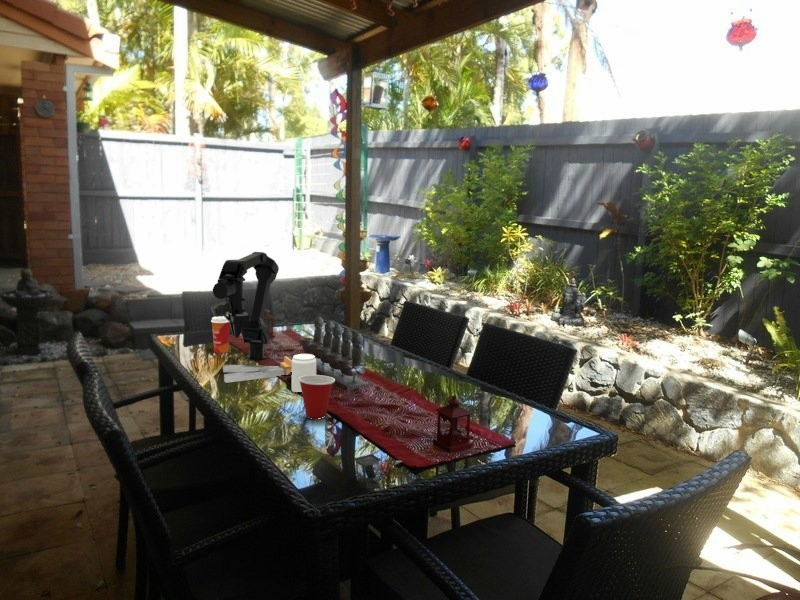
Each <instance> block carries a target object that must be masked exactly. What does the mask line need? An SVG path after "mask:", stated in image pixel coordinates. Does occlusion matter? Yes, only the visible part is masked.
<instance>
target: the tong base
mask: <svg viewBox="0 0 800 600" xmlns="http://www.w3.org/2000/svg"><path fill="white" fill-rule="evenodd" d="M281 375H286V369H285V368H284V367H283V366H281V368H280V367H279V368H276V369H267V370H258V371H249V372H240V373H233V372H230V373H224V374H223V381H224V383H225V384H228V383H237V382H246V381H251V380H252V381H253V380H262V379H269V378H277V377H276V376H279V377H282V376H281Z"/></svg>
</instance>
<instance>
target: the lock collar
mask: <svg viewBox="0 0 800 600" xmlns="http://www.w3.org/2000/svg"><path fill="white" fill-rule="evenodd" d="M281 366H283V367H284V368H285V369H286V375H288V374H289V373H290V372H292V359H291V358H289V357H288V356H283V361H280V362H279V368H281Z"/></svg>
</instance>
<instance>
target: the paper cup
mask: <svg viewBox="0 0 800 600" xmlns="http://www.w3.org/2000/svg"><path fill="white" fill-rule="evenodd" d="M224 316H225V315H222V316H221V315H220V316H218V317H215V316H213V317H211V320H210V322H211V328H212V329H211V331H212V342H213V351H214V353H215V354H226V353H228V352H229V348H230V347H229V346H230V331H231V330H230V329H231V327H230V323H229V321H228V320H227V319H226V318H225V317H224Z"/></svg>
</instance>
